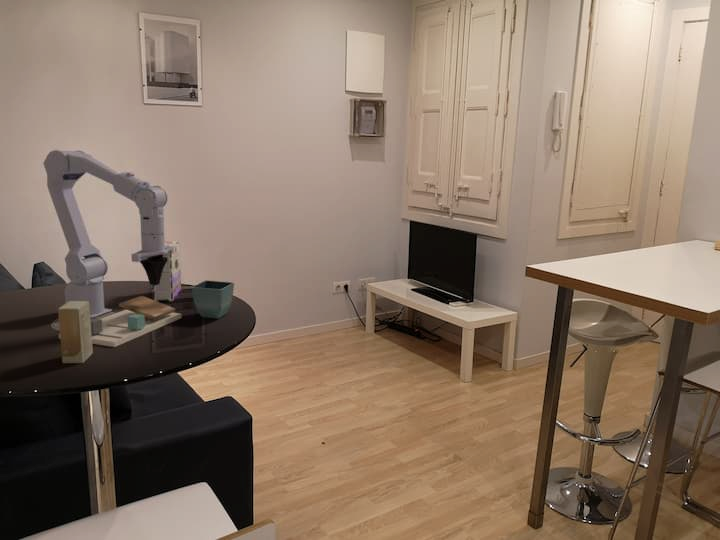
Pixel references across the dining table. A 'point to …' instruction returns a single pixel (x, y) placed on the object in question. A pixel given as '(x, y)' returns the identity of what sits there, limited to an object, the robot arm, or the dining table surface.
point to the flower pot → (213, 298)
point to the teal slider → (136, 321)
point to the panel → (119, 332)
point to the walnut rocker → (147, 307)
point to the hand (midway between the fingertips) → (154, 284)
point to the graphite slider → (96, 326)
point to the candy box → (169, 276)
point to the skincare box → (75, 331)
